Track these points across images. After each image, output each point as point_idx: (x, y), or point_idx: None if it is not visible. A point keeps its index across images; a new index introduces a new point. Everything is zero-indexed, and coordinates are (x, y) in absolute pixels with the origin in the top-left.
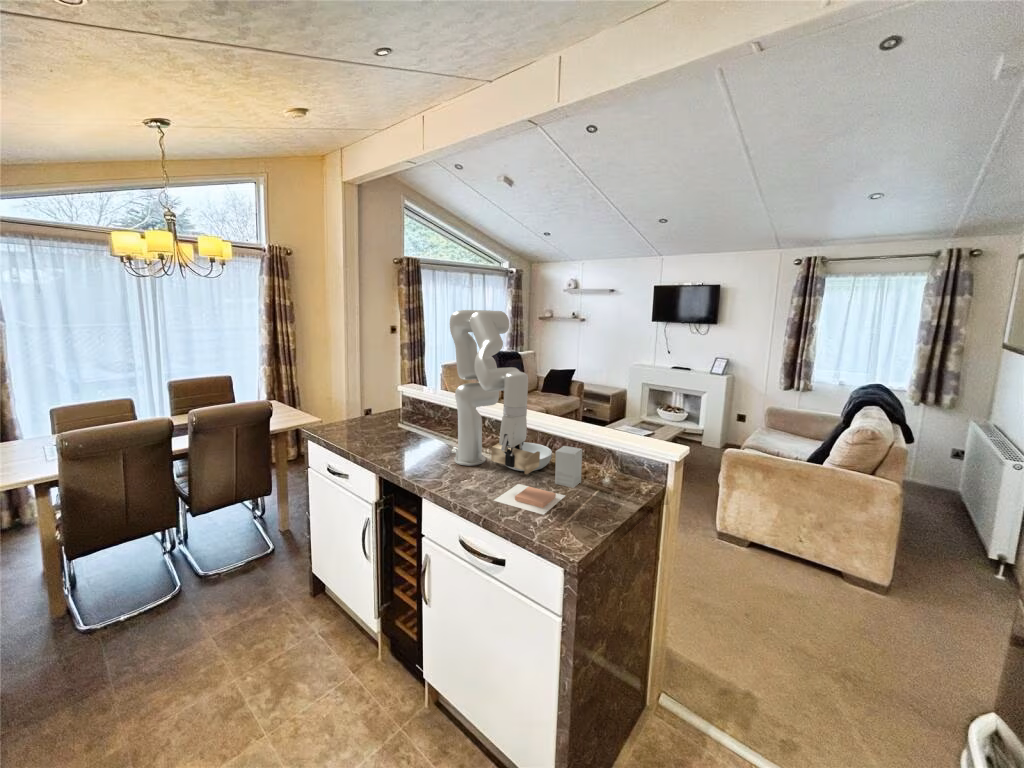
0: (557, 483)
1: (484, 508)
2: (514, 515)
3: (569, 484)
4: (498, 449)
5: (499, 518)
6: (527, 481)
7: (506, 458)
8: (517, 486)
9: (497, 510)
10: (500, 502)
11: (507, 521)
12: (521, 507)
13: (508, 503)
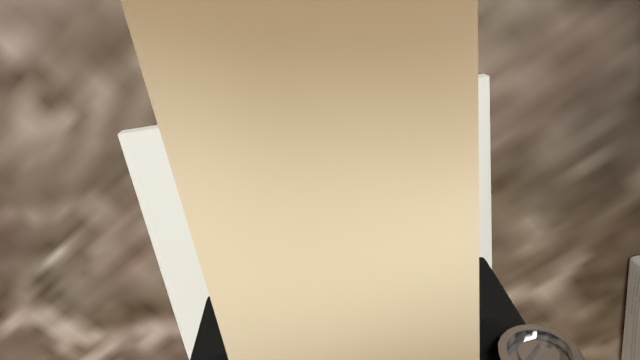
0: (635, 281)
1: (10, 150)
2: (104, 331)
3: (636, 358)
4: (192, 203)
5: (8, 299)
6: (594, 76)
7: (192, 353)
8: None
9: (65, 228)
10: (136, 192)
11: (24, 346)
12: (189, 322)
13: (167, 238)
